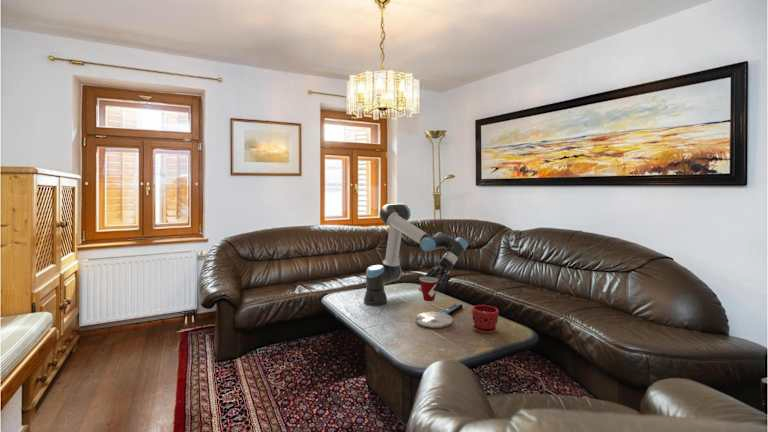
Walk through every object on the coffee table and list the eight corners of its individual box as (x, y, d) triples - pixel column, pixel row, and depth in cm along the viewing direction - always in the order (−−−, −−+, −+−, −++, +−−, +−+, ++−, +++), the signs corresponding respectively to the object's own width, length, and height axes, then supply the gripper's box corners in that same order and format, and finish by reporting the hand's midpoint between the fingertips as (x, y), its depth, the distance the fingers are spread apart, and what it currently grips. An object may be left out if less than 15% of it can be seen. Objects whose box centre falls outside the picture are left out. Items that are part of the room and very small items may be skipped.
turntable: (409, 318, 209) (409, 315, 209) (438, 312, 218) (438, 309, 218) (428, 330, 191) (428, 327, 191) (459, 323, 200) (459, 320, 200)
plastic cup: (438, 303, 198) (438, 281, 197) (418, 302, 200) (418, 280, 199) (440, 297, 208) (439, 276, 208) (420, 296, 211) (420, 275, 210)
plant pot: (494, 337, 184) (494, 314, 183) (468, 332, 191) (468, 309, 190) (501, 328, 195) (501, 306, 194) (476, 324, 202) (476, 302, 201)
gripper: (464, 269, 200) (440, 302, 194) (440, 262, 220) (418, 291, 214) (456, 260, 197) (432, 293, 191) (432, 254, 217) (410, 284, 211)
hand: (424, 292), depth 203 cm, fingers closed on plastic cup, 10 cm apart
